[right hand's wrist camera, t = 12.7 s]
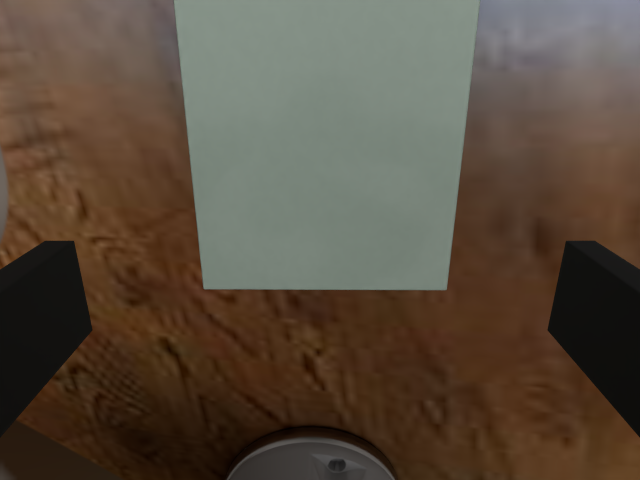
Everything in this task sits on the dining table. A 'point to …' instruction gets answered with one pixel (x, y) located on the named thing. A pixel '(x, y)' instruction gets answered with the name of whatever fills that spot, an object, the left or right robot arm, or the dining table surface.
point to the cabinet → (326, 139)
